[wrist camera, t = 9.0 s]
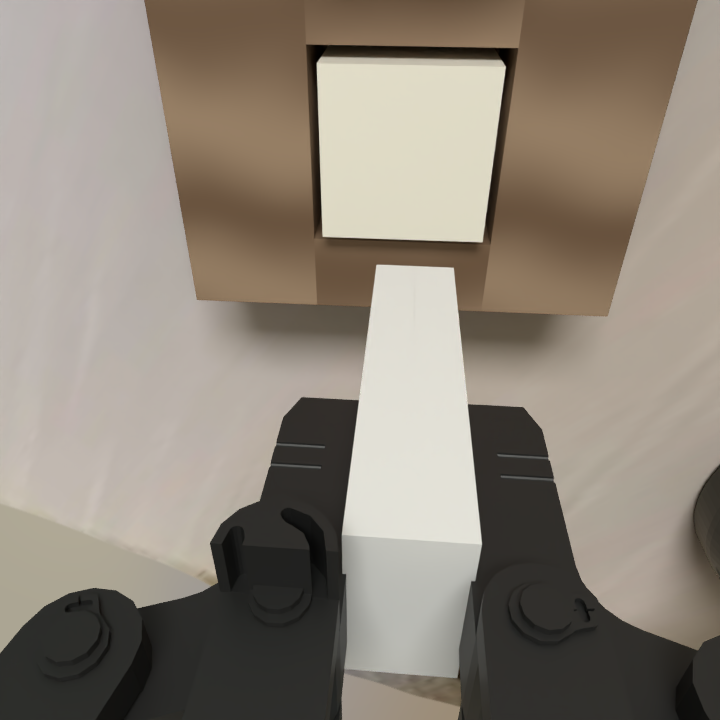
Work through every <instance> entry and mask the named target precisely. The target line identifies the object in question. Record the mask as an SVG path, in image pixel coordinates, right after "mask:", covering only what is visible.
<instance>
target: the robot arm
mask: <svg viewBox="0 0 720 720" xmlns="http://www.w3.org/2000/svg"><path fill="white" fill-rule="evenodd" d="M553 479H554V476H553V472H552V468H551V464H550V461H548V452H547V448H546V444H545V440H544V436H543V432H542V429H541V428H540V427H539V426H538V424H537V423H536V422H535V421H534V420H533V418H532V417H531V416H530V415H529V414H528V412H527V411H526V410H525V409H524V408H523V407H508V406H489V405H471V404H468V403H467V393H466V383H465V374H464V364H463V354H462V344H461V335H460V325H459V315H458V305H457V296H456V286H455V276H454V268H449V267H424V266H400V265H376V273H375V281H374V288H373V296H372V304H371V312H370V319H369V327H368V335H367V343H366V350H365V358H364V366H363V374H362V382H361V389H360V397H359V400H342V399H323V398H305V397H302V398H301V399H300V400H299V401H298V402H297V403H296V404H295V405H294V406H293V407H292V409H291V410H290V411H289V412H288V413H287V414H286V415H285V416H284V417H283V420H282V424H281V428H280V431H279V435H278V438H277V444H276V447H275V449H274V452H273V456H272V460H271V467H269V470H268V474H267V477H266V481H265V485H264V488H263V492H262V495H261V499H260V501H259V502H256V503H254V504H251V505H249V506H246V507H244V508H241V509H239V510H238V511H237V512H235V513H234V514H233V515H232V516H230V517H229V518H228V519H227V520H226V521H224V522H223V523H222V524H221V525H220V527H219V529H218V530H217V532H216V534H215V535H214V537H213V539H212V541H211V542H210V545H211V550H212V555H213V560H214V565H215V569H216V574H217V579H218V583H217V584H215V585H213V586H212V587H210V588H208V589H206V590H204V591H203V592H200V593H198V594H194V595H191V596H188V597H185V598H181V599H177V600H172V601H168V602H163V603H159V604H155V605H150V606H146V607H142V608H136V606H135V604H134V602H133V601H132V600H131V599H129V598H127V597H126V596H124V595H122V594H121V593H119V592H118V591H116V590H107V589H97V588H92V589H87V590H83V591H78V592H73V593H69V594H67V595H65V596H63V597H61V598H60V599H58V600H56V601H54V602H52V603H50V604H48V605H46V606H44V607H43V608H42V609H41V610H40V611H39V612H38V613H37V614H36V615H35V616H34V617H33V618H31V619H30V620H29V621H28V622H27V623H26V624H25V625H24V626H23V627H22V628H21V629H20V630H19V632H18V633H17V634H16V635H15V636H14V638H13V639H12V640H11V641H10V642H9V644H8V645H7V646H6V647H5V648H4V650H3V651H2V652H1V653H0V720H342V704H341V697H342V687H343V676H344V669H351V670H363V671H375V672H387V673H399V674H412V675H424V676H436V677H448V678H457V676H458V671H459V665H460V680H461V699H462V702H461V707H460V712H459V717H458V720H720V636H717V637H715V638H712V639H710V640H708V641H705V642H704V643H703V644H702V646H701V647H700V649H699V650H698V651H697V650H695V649H692V648H689V647H686V646H684V645H681V644H678V643H676V642H673V641H670V640H667V639H665V638H662V637H659V636H657V635H654V634H651V633H648V632H646V631H643V630H641V629H639V628H636V627H634V626H632V625H630V624H628V623H626V622H624V621H622V620H621V619H619V618H618V617H616V616H615V615H613V614H612V613H611V612H609V611H608V610H606V609H605V608H604V607H603V606H602V605H601V604H600V603H599V602H598V600H597V598H596V597H595V596H594V595H593V594H592V593H591V592H590V591H589V590H588V589H587V588H586V586H585V585H584V583H583V582H582V580H581V578H580V576H579V573H578V570H577V568H576V565H575V561H574V557H573V553H572V549H571V545H570V541H569V537H568V533H567V529H566V525H565V521H564V517H563V513H562V509H561V505H560V500H559V496H558V492H557V488H556V484H555V483H554V481H553ZM694 524H695V530H696V533H697V536H698V539H699V541H700V543H701V545H702V547H703V549H704V552H705V554H706V556H707V558H708V560H709V562H710V565H711V567H712V568H713V570H714V571H715V573H716V574H717V576H718V577H719V578H720V467H719V468H718V469H717V471H716V472H715V473H714V474H713V475H712V477H711V478H710V479H709V480H708V482H707V483H706V485H705V487H704V488H703V490H702V492H701V494H700V496H699V499H698V501H697V505H696V509H695V515H694Z"/></svg>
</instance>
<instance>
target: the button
mask: <svg viewBox="0 0 720 720" xmlns="http://www.w3.org/2000/svg"><path fill="white" fill-rule="evenodd" d="M505 69H506V66H505V65H504V63H503V62H502V60H501V58H500V57H499V55H498V53H497V52H496V50H495V48H485V47H427V46H369V45H328V47H327V48H326V50H325V51H324V53H323V54H322V56H321V58H320V59H319V61H318V62H317V86H318V116H319V145H320V175H321V205H322V234H323V237H342V238H371V239H400V240H429V241H458V242H483V235H484V227H485V220H486V212H487V205H488V197H489V190H490V182H491V175H492V167H493V160H494V152H495V145H496V137H497V129H498V122H499V114H500V107H501V99H502V92H503V84H504V77H505Z"/></svg>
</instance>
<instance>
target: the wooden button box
mask: <svg viewBox="0 0 720 720" xmlns="http://www.w3.org/2000/svg"><path fill="white" fill-rule="evenodd" d="M697 1H698V0H145V6H146V12H147V18H148V23H149V29H150V35H151V40H152V46H153V52H154V57H155V63H156V69H157V75H158V80H159V86H160V92H161V97H162V103H163V109H164V114H165V120H166V126H167V132H168V137H169V143H170V149H171V154H172V160H173V166H174V171H175V177H176V183H177V188H178V194H179V200H180V206H181V211H182V217H183V223H184V228H185V234H186V240H187V245H188V251H189V257H190V263H191V268H192V274H193V280H194V285H195V291H196V297H197V300H213V301H238V302H263V303H288V304H312V305H337V306H362V307H371V304H372V296H373V288H374V281H375V273H376V265H400V266H424V267H449V268H454V276H455V286H456V296H457V305H458V310H461V311H486V312H510V313H535V314H560V315H585V316H608V313H609V309H610V306H611V302H612V299H613V295H614V292H615V288H616V285H617V281H618V278H619V274H620V271H621V267H622V264H623V260H624V257H625V253H626V250H627V246H628V243H629V239H630V236H631V232H632V229H633V225H634V222H635V218H636V215H637V211H638V208H639V204H640V201H641V197H642V194H643V190H644V187H645V183H646V180H647V176H648V173H649V169H650V166H651V162H652V159H653V155H654V152H655V148H656V145H657V141H658V138H659V134H660V131H661V127H662V124H663V120H664V117H665V113H666V110H667V106H668V103H669V99H670V96H671V92H672V89H673V85H674V81H675V78H676V74H677V71H678V67H679V64H680V60H681V57H682V53H683V50H684V46H685V43H686V39H687V36H688V32H689V29H690V25H691V22H692V18H693V15H694V11H695V8H696V4H697ZM328 45H369V46H427V47H485V48H495V50H496V52H497V53H498V55H499V57H500V58H501V60H502V62H503V63H504V65H505V66H506V69H505V77H504V84H503V92H502V99H501V107H500V114H499V122H498V129H497V137H496V145H495V152H494V160H493V167H492V175H491V182H490V190H489V197H488V205H487V212H486V220H485V227H484V235H483V242H458V241H429V240H400V239H371V238H342V237H323V234H322V205H321V175H320V145H319V116H318V86H317V62H318V61H319V59H320V58H321V56H322V54H323V53H324V51H325V50H326V48H327V47H328Z"/></svg>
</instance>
